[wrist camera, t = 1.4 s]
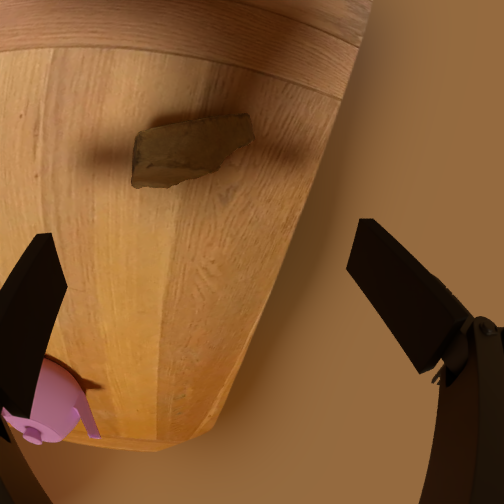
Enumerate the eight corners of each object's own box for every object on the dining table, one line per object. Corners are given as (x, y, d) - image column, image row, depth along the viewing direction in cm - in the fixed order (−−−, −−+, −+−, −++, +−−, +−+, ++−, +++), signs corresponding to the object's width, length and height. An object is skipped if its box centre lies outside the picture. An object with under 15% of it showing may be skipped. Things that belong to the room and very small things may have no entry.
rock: (278, 88, 21) (149, 62, 17) (300, 178, 18) (133, 155, 14) (228, 163, 30) (131, 153, 26) (236, 241, 27) (124, 236, 23)
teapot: (12, 392, 38) (1, 445, 28) (-23, 338, 30) (-46, 399, 20) (113, 407, 43) (112, 467, 34) (93, 355, 35) (83, 432, 26)
